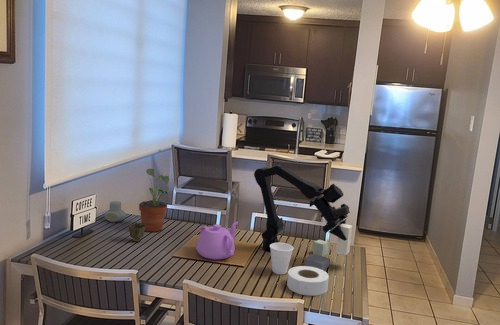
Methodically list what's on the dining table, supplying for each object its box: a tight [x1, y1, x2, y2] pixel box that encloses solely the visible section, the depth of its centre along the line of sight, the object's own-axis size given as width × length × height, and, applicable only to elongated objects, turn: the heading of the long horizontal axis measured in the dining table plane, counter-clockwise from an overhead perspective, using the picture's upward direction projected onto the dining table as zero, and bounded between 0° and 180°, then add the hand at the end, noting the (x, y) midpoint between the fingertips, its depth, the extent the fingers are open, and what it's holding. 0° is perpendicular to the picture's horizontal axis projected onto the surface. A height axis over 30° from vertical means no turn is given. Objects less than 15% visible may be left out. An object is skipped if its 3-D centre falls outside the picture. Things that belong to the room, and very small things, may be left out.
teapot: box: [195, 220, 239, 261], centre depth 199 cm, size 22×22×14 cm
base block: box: [304, 253, 330, 271], centre depth 193 cm, size 8×8×4 cm
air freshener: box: [104, 200, 127, 223], centre depth 237 cm, size 11×8×10 cm
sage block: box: [312, 239, 330, 257], centre depth 208 cm, size 5×5×6 cm
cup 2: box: [270, 242, 295, 275], centre depth 184 cm, size 10×10×11 cm
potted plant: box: [138, 168, 170, 233], centre depth 225 cm, size 16×15×35 cm
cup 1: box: [128, 222, 145, 243], centre depth 208 cm, size 8×7×8 cm
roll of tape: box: [286, 265, 330, 297], centre depth 172 cm, size 16×16×6 cm
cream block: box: [335, 223, 353, 256], centre depth 193 cm, size 4×5×12 cm
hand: (347, 238), depth 192 cm, fingers closed on cream block, 5 cm apart
